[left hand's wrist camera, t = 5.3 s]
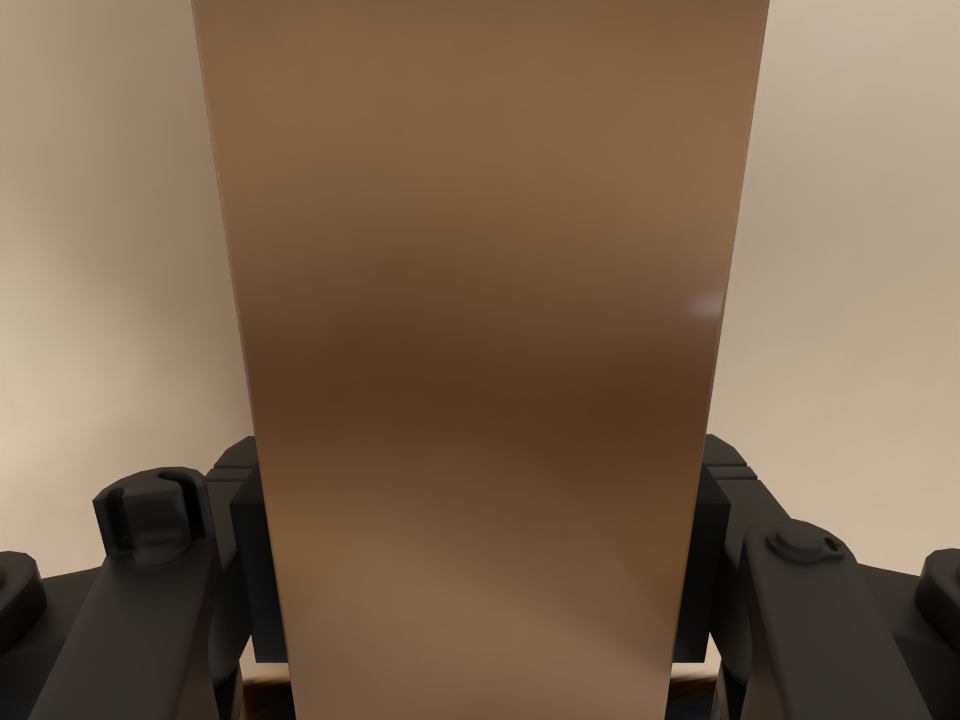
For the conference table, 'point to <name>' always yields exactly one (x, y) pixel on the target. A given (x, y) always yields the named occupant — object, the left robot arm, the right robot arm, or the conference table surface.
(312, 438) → the beam
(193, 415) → the conference table surface
